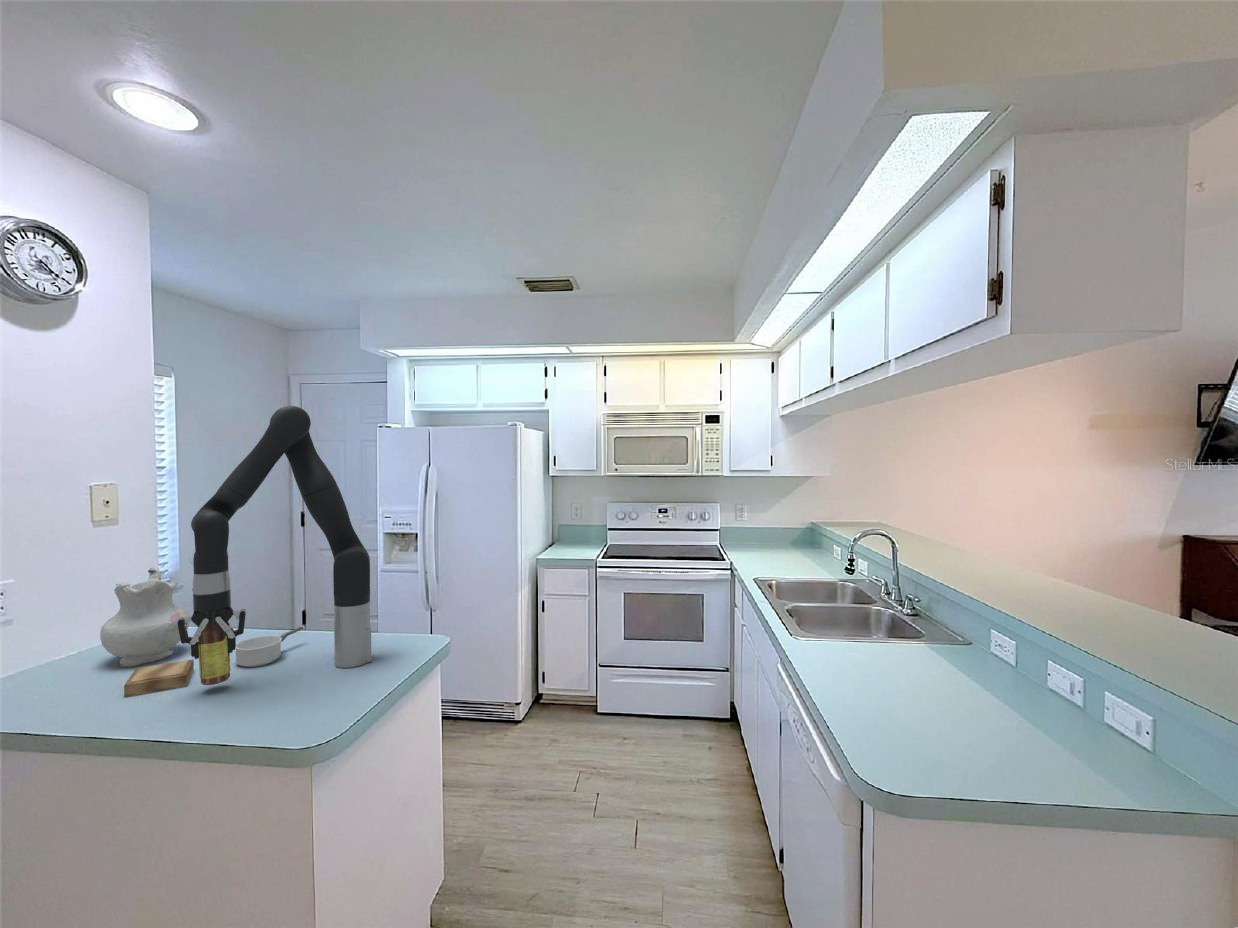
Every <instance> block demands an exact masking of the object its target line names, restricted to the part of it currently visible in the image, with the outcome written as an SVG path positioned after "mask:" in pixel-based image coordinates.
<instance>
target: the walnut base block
mask: <svg viewBox="0 0 1238 928" xmlns="http://www.w3.org/2000/svg"><path fill="white" fill-rule="evenodd" d="M193 672H194V658H193V659H186V660H181V661H180V660H179V661H174V662H167V663H160V664H154V665H149V666H142V667H136V668H135V669H134V670H133V672H132V673H131V675H130V676H129V677H128V679H127V681H126V682H125V684H123V685H124V686H123V688H124V691H123V693H124V696H123V697H124V698H128V697H134V696H141V695H147V694H151V693H157V692H162V691H163V692H164V691H168V690H174V689H179V688H186V687H188V684H189V682H190V680H191V676H192V675H193Z"/></svg>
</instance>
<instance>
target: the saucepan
mask: <svg viewBox="0 0 1238 928" xmlns="http://www.w3.org/2000/svg"><path fill="white" fill-rule="evenodd" d="M302 630H304V627H303V626H299V627H297V628H295V629H291V630H289V631H287V632H285V633H283V634H281V635H279V636H278V635H261V636H254V637H251V638H247V639H243V640H239V642H236V648H235V664H236V665H238V666H241V667H246V668H254V667H261V666H264V665H268V664H271V663H273V662H275V660H277V659H279V658H280V657H281V650H282V647H281V646H282V645H281V643H282V642H283V641H284V640H285V639H286V638H288V636H291V635H293V634H295V633H298V632H300V631H302Z"/></svg>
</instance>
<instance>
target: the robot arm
mask: <svg viewBox="0 0 1238 928" xmlns="http://www.w3.org/2000/svg"><path fill="white" fill-rule="evenodd" d="M311 425H312V422H311V417H310V415H309V414H308V412H307V411H306V410H305V409H303V408H301V407H299V406H295V405H286V406H283V407H280V408H279V409H277V410H275V412H274V413H273V414H272V416H271V417H270V420H269V424H268V426H267V428H266V430H265V432H264V434H263V435H262V437H261V438H260V440H259V441H258V442H257V444H256V445H255V446H254V447H253V449H252V450H251V451H250V452H249V453H248V454H247V455H246V456H245V457H244V458H243V460H242V461H241V462H240V463H239V464H238V465H237V466H236V467H235V468H234V469H233V471H231V473H230V474H229V475H228V477H227V478H226V479H225V480H224V481H223V483H222V484H221V485H220V486H219V487H218V489H217V491H216V492H215V493H214V495H213V496H211V498H209V499H208V501H206V502H205V503H204V505H203V506H201V508H199V510H198V511H197V512H196V513H195V515H194V516H193V517H192V519H191V522H190V526H191V530H192V531H193V535H194V549H195V550H194V551H195V552H194V554H193V559H192V560H193V566H192V567H193V580H192V599H193V600H192V601H193V602H192V605H193V613H192V615H191V616H189V617H187V618H183V617H182V618H180V619H179V620H178V622H177V624H178V629H179V635H180V643H181V644H183V645H184V644H185V645H186V644H189V645H190V655H191V657H192V658H194V659H195V660H197V659H198V660H199V654H198V639H199V636H200V635H201V632H202V631H203V630H204V628H205V626H206V625H207V623H208V621H209V619H208V618H206V617H205V612H209V611H216V610H217V616H216V619H215V620H216V622H217V623H218V624H219V625H220V626H221V628H222V629H223V630H224V632H226V634H227V635H228V637H229V639H228V641H229V653H230V654H231V653H233V651H236V644H237V642H236V641H237V639H236V638H237V637H238V636H241V635H243V634H244V631H245V624H246V616H247V615H246V613H247V610H246V609H245V608H242V609H239V610H234V609H233V608H232V601H231V599H232V598H231V595H232V594H231V576H230V575H231V574H230V571H229V570H230V569H229V553H228V547H229V539H230V538H229V537H230V535H229V534H230V524H229V522H230V520H231V519H232V517H233V516H234V515H235V514H236V513H237V512H238V510H239V509H242V507H244V506H245V505H246V504H247V503H248V501H249V500H250V499H251V498H252V497H253V495H254V494H255V493H256V491H257V490H258V489H259V487H260V486H261V485H262V484H263V482H264V481H265V479H266V477H268V475H269V473H270V472H271V471H272V470H273V469H274V466H275V465H276V464H277V463H278V461H280V459H281V458H282V457H283V456H284V455H285V457H286V458H287V460H288V461H287V462H288V463H289V465H290V467H291V471H292V474H293V477H294V481H295V482H296V485H297V488H298V490H299V493H300V496H301V497H302V500H303V502H304V505H305V506H306V509H307V510H308V513H309V514H310V515H311V517H312V519H313V520H314V521H315V523H316V524H317V526H318V527H319V529H320V530H321V531H322V532H323V534H324V536H325V537H326V540H327V542H328V544H329V548H330V550H331V554H332V557H333V566H332V567H333V570H332V571H333V572H332V575H333V576H332V577H333V583H332V584H333V585H332V586H333V603H334V604H333V617H334V618H333V619H334V620H333V623H334V625H333V626H334V629H333V631H334V632H333V634H334V635H333V636H334V644H333V646H334V655H333V658H334V659H333V660H334V666H335V667H338V668H343V669H344V668H356V667H359V666H362V665H365V664H368V663H371V662H372V628H371V561H370V560H371V559H370V555H369V552H368V551H367V549H366V547H365V546H364V544H363V543H362V542H361V540H360V538H359V536H358V535H357V533H356V531H355V529H354V527H353V524H352V522H351V518H350V515H349V511H348V509H347V508H348V507H347V506H346V503H345V500H344V497H343V495H342V493H341V489H340V488H339V486H338V483H337V481H336V479H335V477H334V476H333V474H332V473H331V471H330V469H329V468H328V467H327V465H326V464H325V462H324V461H323V460H322V459H321V457H320V455H319V454H318V451H317V449H316V447H315V445H314V443H313V440H312V436H311V434H310V429H311ZM233 616H234V617H235V619H236V620H238V626H237V627H238V628H237V629H235V630H234V628H233V627H232V625H231V623H230V622H229V620H230V619H231V618H232V617H233ZM190 622H192V623H193V624H194V625H195V626H197V628H196V630H195V633H194V634H193V636H189V634H188V630H187V626H188V625H189V626H190Z"/></svg>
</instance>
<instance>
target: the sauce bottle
mask: <svg viewBox="0 0 1238 928" xmlns="http://www.w3.org/2000/svg"><path fill="white" fill-rule="evenodd" d="M216 616H217V610H216V611H209V612H205V617H206V618H208V619H209V621H208V623H207V625H206V626H205V628H204V630H203V631H202V632H201V635H200V636H199V639H198V654H199V658H198V667H199V678H200V683H201V684H202V685H203V686H213V685H217V684H221V683H224V682H225V681H227V680H229V678H230V677H231V655H230V654H231V653H229V641H228V639H229V636H228V635H227V634H226V632H224V630H223V629H222V628H221V626H220V625H219V624H218V623H217V622H216V620H215V619H216Z"/></svg>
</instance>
